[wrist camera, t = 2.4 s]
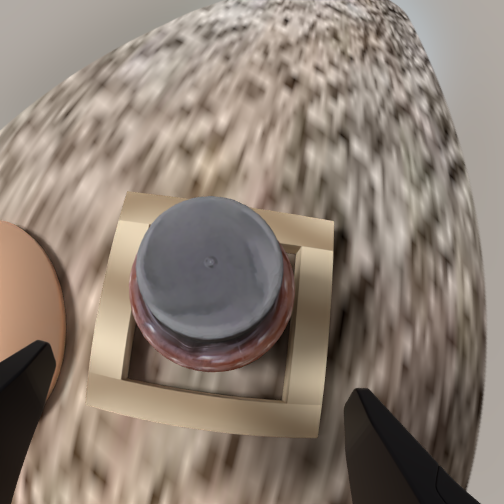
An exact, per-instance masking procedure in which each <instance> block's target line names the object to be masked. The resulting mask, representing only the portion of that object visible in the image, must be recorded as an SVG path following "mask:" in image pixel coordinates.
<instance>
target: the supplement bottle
mask: <svg viewBox="0 0 504 504" xmlns="http://www.w3.org/2000/svg"><path fill="white" fill-rule="evenodd" d="M294 298H295V283H294V274H293V270H292V267H291V264H290V261H289V258H288V255H287V254H286V252H285V250H284V248H283V247H282V245H281V244H280V242H279V241H278V240H277V238H276V236H275V234H274V232H273V231H272V229H271V227H270V226H269V225H268V224H267V223H266V221H265V220H264V219H263V218H262V217H261V216H260V215H259V214H258V213H256V212H255V211H253V210H252V209H251V208H249V207H248V206H246V205H243V204H241V203H239V202H237V201H235V200H232V199H228V198H222V197H214V196H208V197H197V198H192V199H189V200H185V201H182V202H180V203H178V204H175V205H174V206H172V207H170V208H169V209H167V210H166V211H164V212H163V213H162V214H161V215H159V216H158V217H157V218H156V219H155V221H154V222H153V223H152V224H151V225H150V227H149V229H148V230H147V232H146V233H145V235H144V237H143V239H142V241H141V244H140V246H139V249H138V252H137V254H136V256H135V260H134V262H133V265H132V269H131V273H130V281H129V299H130V304H131V309H132V313H133V316H134V319H135V321H136V323H137V326H138V327H139V329H140V330H141V332H142V334H143V336H144V337H145V339H146V340H147V341H148V342H149V343H150V344H151V345H152V346H153V347H154V348H155V349H156V350H157V351H158V352H159V353H161V354H162V355H163V356H164V357H166V358H167V359H169V360H171V361H173V362H174V363H176V364H178V365H181V366H183V367H186V368H189V369H193V370H197V371H203V372H223V371H229V370H234V369H237V368H240V367H243V366H245V365H247V364H250V363H251V362H253V361H255V360H257V359H258V358H260V357H261V356H262V355H264V354H265V353H266V352H267V351H268V350H269V349H270V348H271V347H272V346H273V345H274V344H275V343H276V342H277V340H278V339H279V337H280V336H281V335H282V333H283V331H284V330H285V328H286V326H287V324H288V321H289V319H290V317H291V313H292V310H293V305H294Z"/></svg>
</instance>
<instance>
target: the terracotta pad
mask: <svg viewBox="0 0 504 504" xmlns="http://www.w3.org/2000/svg"><path fill="white" fill-rule="evenodd" d="M36 340H42V341H46V342H48V343H50V345H51V347H52V351H53V354H54V357H55V360H56V369H55V372H54V375H53V378H52V382H51V385H50V388H49V392H48V395H47V398H46V401H47V399H48V398H49V396H50V394H51V392H52V390H53V389H54V387H55V384H56V381H57V379H58V376H59V373H60V369H61V366H62V362H63V356H64V350H65V340H66V314H65V306H64V299H63V294H62V290H61V286H60V283H59V280H58V277H57V274H56V271H55V269H54V267H53V265H52V262H51V260H50V259H49V257H48V256H47V254H46V252H45V251H44V250H43V248H42V247H41V246H40V245H39V244H38V242H37V241H36V240H34V239H33V238H32V237H31V236H30V235H29V234H27V233H26V232H25V231H24V230H22V229H21V228H19V227H17V226H16V225H14V224H11V223H9V222H6V221H0V362H1V361H3V360H5V359H6V358H8V357H9V356H11V355H13V354H14V353H16V352H18V351H19V350H21V349H23V348H24V347H26V346H27V345H29V344H31V343H32V342H34V341H36Z"/></svg>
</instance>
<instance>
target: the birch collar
mask: <svg viewBox="0 0 504 504" xmlns="http://www.w3.org/2000/svg"><path fill="white" fill-rule="evenodd" d="M185 200H189V199H185V198H178V197H170V196H162V195H154V194H145V193H137V192H128V191H127V194H126V197H125V201H124V204H123V207H122V211H121V214H120V218H119V222H118V225H117V229H116V233H115V236H114V240H113V244H112V248H111V252H110V256H109V261H108V265H107V269H106V274H105V278H104V283H103V288H102V293H101V298H100V303H99V308H98V313H97V319H96V325H95V331H94V337H93V343H92V350H91V357H90V365H89V372H88V381H87V390H86V401H85V405H88V406H91V407H95V408H98V409H102V410H106V411H109V412H113V413H117V414H121V415H125V416H130V417H134V418H138V419H143V420H148V421H153V422H158V423H163V424H168V425H174V426H180V427H186V428H192V429H199V430H206V431H214V432H222V433H231V434H241V435H253V436H268V437H289V438H318V431H319V423H320V415H321V407H322V399H323V390H324V381H325V371H326V361H327V350H328V338H329V325H330V310H331V293H332V272H333V242H334V221H329V220H323V219H317V218H312V217H306V216H300V215H294V214H288V213H281V212H275V211H269V210H262V209H256V208H251V209H252V210H253V211H255V212H256V213H258V214H259V215H260V216H261V217H262V218H263V219H264V220H265V221H266V223H267V224H268V225H269V226H270V227H271V229H272V231H273V232H274V234H275V236H276V238H277V240H278V241H279V242H280V244H281V245H282V247H283V248H284V250H285V252H286V253H292V254H296V261H295V274H294V283H295V298H294V305H293V310H292V313H291V320H290V330H289V341H288V350H287V360H286V369H285V378H284V387H283V396H282V400H268V399H256V398H246V397H237V396H228V395H220V394H212V393H205V392H198V391H192V390H185V389H179V388H173V387H168V386H162V385H157V384H152V383H147V382H142V381H137V380H133V379H128V372H129V365H130V357H131V350H132V343H133V337H134V331H135V324H136V321H135V319H134V316H133V313H132V309H131V304H130V299H129V281H130V273H131V269H132V265H133V262H134V260H135V256H136V254H137V252H138V249H139V246H140V244H141V241H142V239H143V237H144V235H145V233H146V232H147V230H148V229H149V227H150V225H151V224H152V223H153V222H154V221H155V219H156V218H157V217H158V216H159V215H161V214H162V213H163V212H164V211H166V210H167V209H169V208H170V207H172V206H174V205H175V204H178V203H180V202H182V201H185Z"/></svg>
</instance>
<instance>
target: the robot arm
mask: <svg viewBox="0 0 504 504" xmlns="http://www.w3.org/2000/svg"><path fill="white" fill-rule="evenodd" d="M55 369H56V360H55V357H54V354H53V351H52V347H51V345H50V343H48V342H46V341H42V340H36V341H34V342H32V343H31V344H29V345H27V346H26V347H24V348H23V349H21V350H19V351H18V352H16V353H14V354H13V355H11V356H9V357H8V358H6V359H5V360H3V361H1V362H0V504H11V502H12V498H13V495H14V491H15V488H16V485H17V481H18V478H19V475H20V472H21V469H22V466H23V463H24V460H25V457H26V454H27V451H28V448H29V445H30V443H31V440H32V437H33V434H34V432H35V429H36V427H37V424H38V421H39V419H40V416H41V414H42V411H43V408H44V405H45V402H46V398H47V395H48V392H49V388H50V385H51V382H52V378H53V375H54V372H55ZM344 425H345V450H346V460H347V467H348V474H349V481H350V488H351V495H352V503H353V504H480V503H479V502H478V501H477V500H476V499H474V498H473V497H472V496H471V495H470V494H469V493H467V492H466V491H465V490H464V489H463V488H462V487H461V486H460V485H459V484H457V483H456V482H455V481H454V480H453V479H452V478H451V477H450V476H449V475H448V474H447V473H446V471H445V470H444V469H443V468H442V467H441V466H438V463H437V462H436V461H435V460H434V459H433V458H432V457H431V456H430V454H429V453H428V452H427V451H426V450H425V449H424V448H423V447H422V446H421V445H420V444H419V443H418V442H417V440H416V439H415V438H414V437H413V436H412V435H411V434H410V433H409V432H408V431H407V430H406V429H405V428H404V426H403V425H402V424H401V423H400V422H399V421H398V420H397V419H396V418H395V417H394V416H393V415H392V413H391V412H390V411H389V410H388V409H387V408H386V407H385V406H384V405H383V404H382V403H381V402H380V400H379V399H378V398H377V397H376V396H375V395H374V394H373V393H372V392H371V391H370V390H369V389H367V388H356V389H354V390H353V392H352V394H351V395H350V397H349V399H348V400H347V402H346V404H345V407H344Z"/></svg>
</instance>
